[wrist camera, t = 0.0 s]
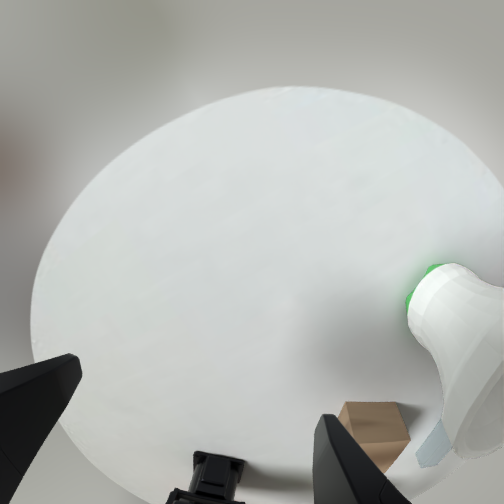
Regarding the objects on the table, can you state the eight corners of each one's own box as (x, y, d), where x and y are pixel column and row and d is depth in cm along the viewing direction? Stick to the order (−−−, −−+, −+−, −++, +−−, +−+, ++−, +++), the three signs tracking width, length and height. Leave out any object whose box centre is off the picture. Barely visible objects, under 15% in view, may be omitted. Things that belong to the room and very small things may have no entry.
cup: (495, 282, 20) (587, 345, 7) (430, 367, 23) (489, 466, 10) (436, 213, 20) (566, 255, 6) (359, 318, 23) (418, 447, 9)
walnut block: (374, 435, 26) (384, 472, 20) (328, 436, 27) (333, 476, 21) (395, 401, 25) (410, 439, 19) (345, 401, 25) (354, 443, 19)
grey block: (431, 450, 27) (437, 464, 24) (415, 453, 27) (420, 468, 24) (488, 363, 23) (499, 377, 20) (472, 364, 23) (484, 379, 20)
